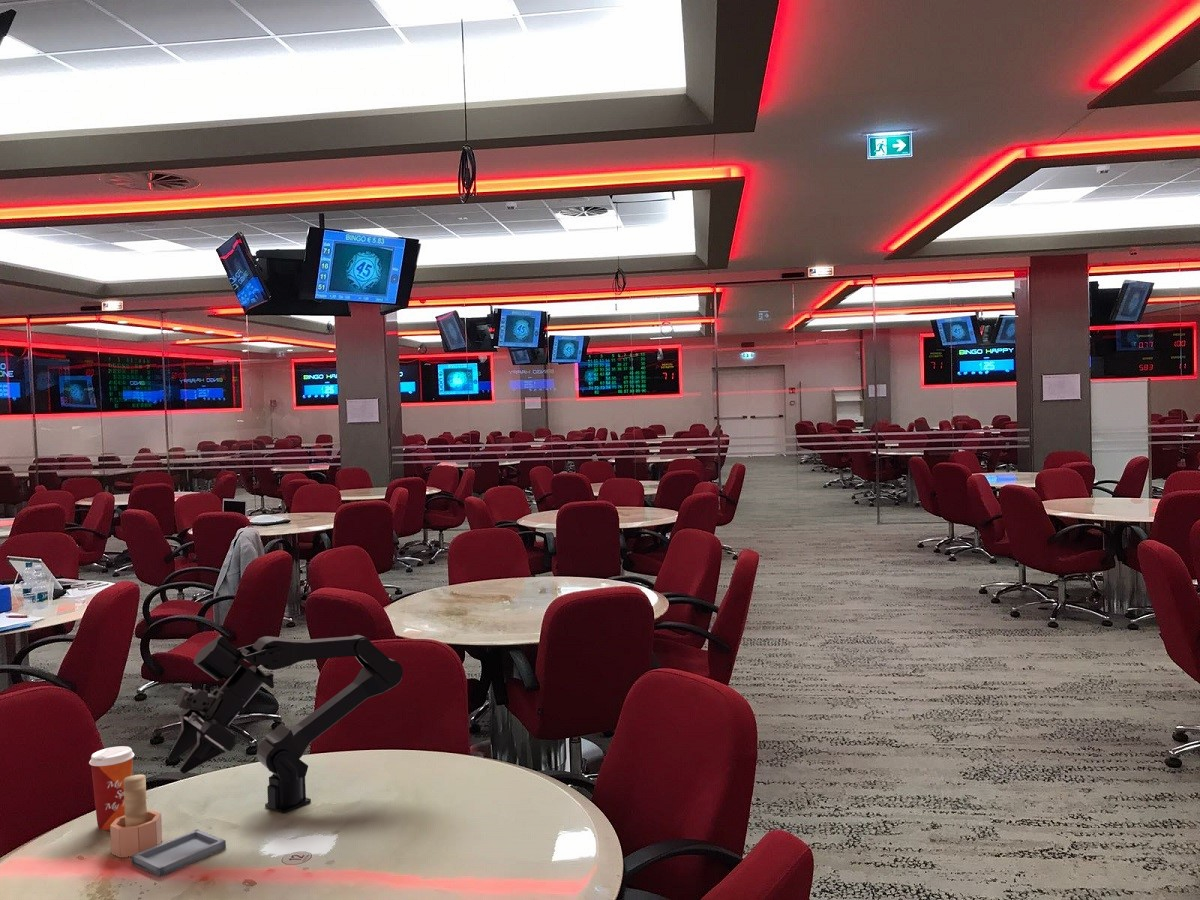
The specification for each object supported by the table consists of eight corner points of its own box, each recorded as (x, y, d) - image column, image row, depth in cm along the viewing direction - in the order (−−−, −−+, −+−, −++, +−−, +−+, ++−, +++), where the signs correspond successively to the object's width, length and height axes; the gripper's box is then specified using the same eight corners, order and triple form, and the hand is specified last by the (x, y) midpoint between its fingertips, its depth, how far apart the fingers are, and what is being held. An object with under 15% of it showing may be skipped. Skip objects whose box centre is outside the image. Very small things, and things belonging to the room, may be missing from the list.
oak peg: (141, 841, 161) (139, 773, 161) (151, 845, 159) (149, 776, 159) (122, 848, 158) (119, 779, 158) (132, 853, 156) (129, 783, 156)
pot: (146, 834, 164) (145, 807, 164) (168, 843, 159) (167, 816, 159) (104, 850, 157) (103, 822, 157) (126, 860, 153) (125, 832, 153)
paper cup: (117, 834, 164) (114, 759, 164) (81, 832, 166) (79, 758, 166) (146, 816, 172) (143, 745, 172) (112, 814, 173) (109, 744, 173)
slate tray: (197, 837, 162) (197, 829, 162) (225, 848, 157) (225, 840, 157) (132, 864, 152) (131, 855, 152) (159, 877, 147) (159, 868, 147)
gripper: (190, 661, 173) (130, 730, 166) (216, 679, 159) (151, 755, 152) (233, 693, 178) (176, 761, 171) (262, 713, 164) (201, 788, 157)
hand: (175, 765), depth 163 cm, fingers open, 9 cm apart
